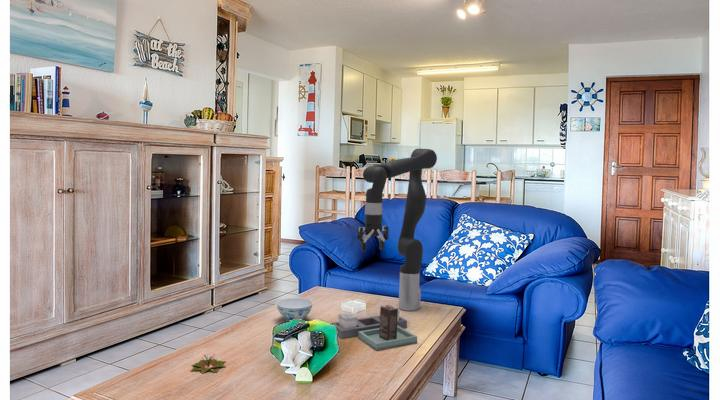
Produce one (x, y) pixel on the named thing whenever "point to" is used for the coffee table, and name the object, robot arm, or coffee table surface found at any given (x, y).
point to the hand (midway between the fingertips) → (372, 250)
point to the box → (388, 322)
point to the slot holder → (364, 326)
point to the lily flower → (206, 362)
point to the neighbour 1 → (347, 320)
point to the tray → (379, 343)
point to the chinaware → (294, 308)
